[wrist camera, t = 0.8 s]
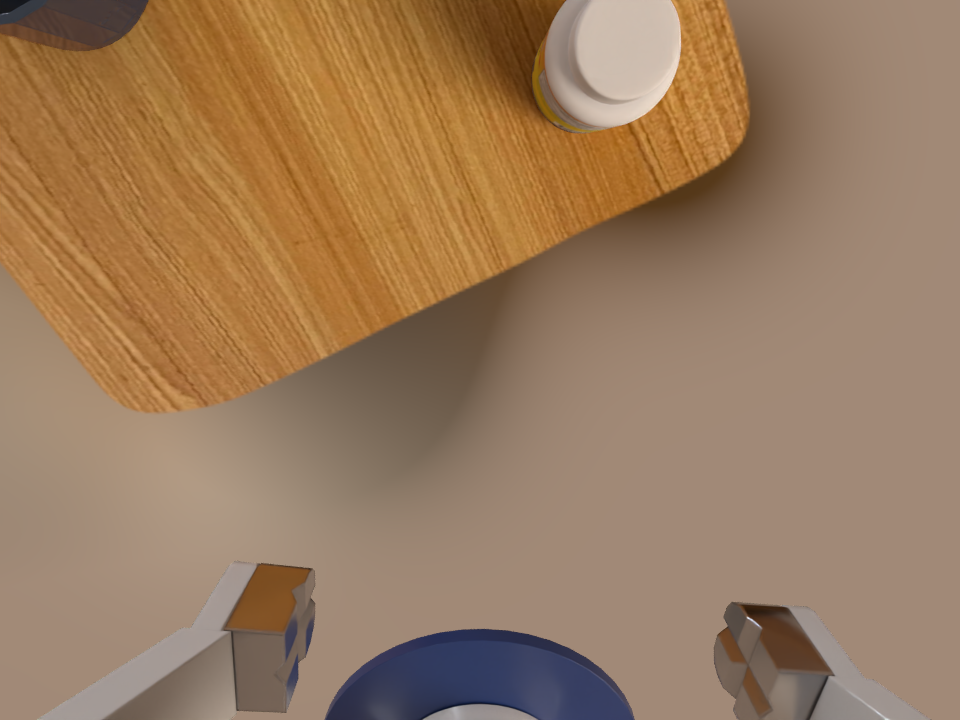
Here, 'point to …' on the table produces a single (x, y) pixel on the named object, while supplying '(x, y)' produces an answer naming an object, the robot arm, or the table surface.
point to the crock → (69, 21)
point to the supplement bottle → (605, 62)
